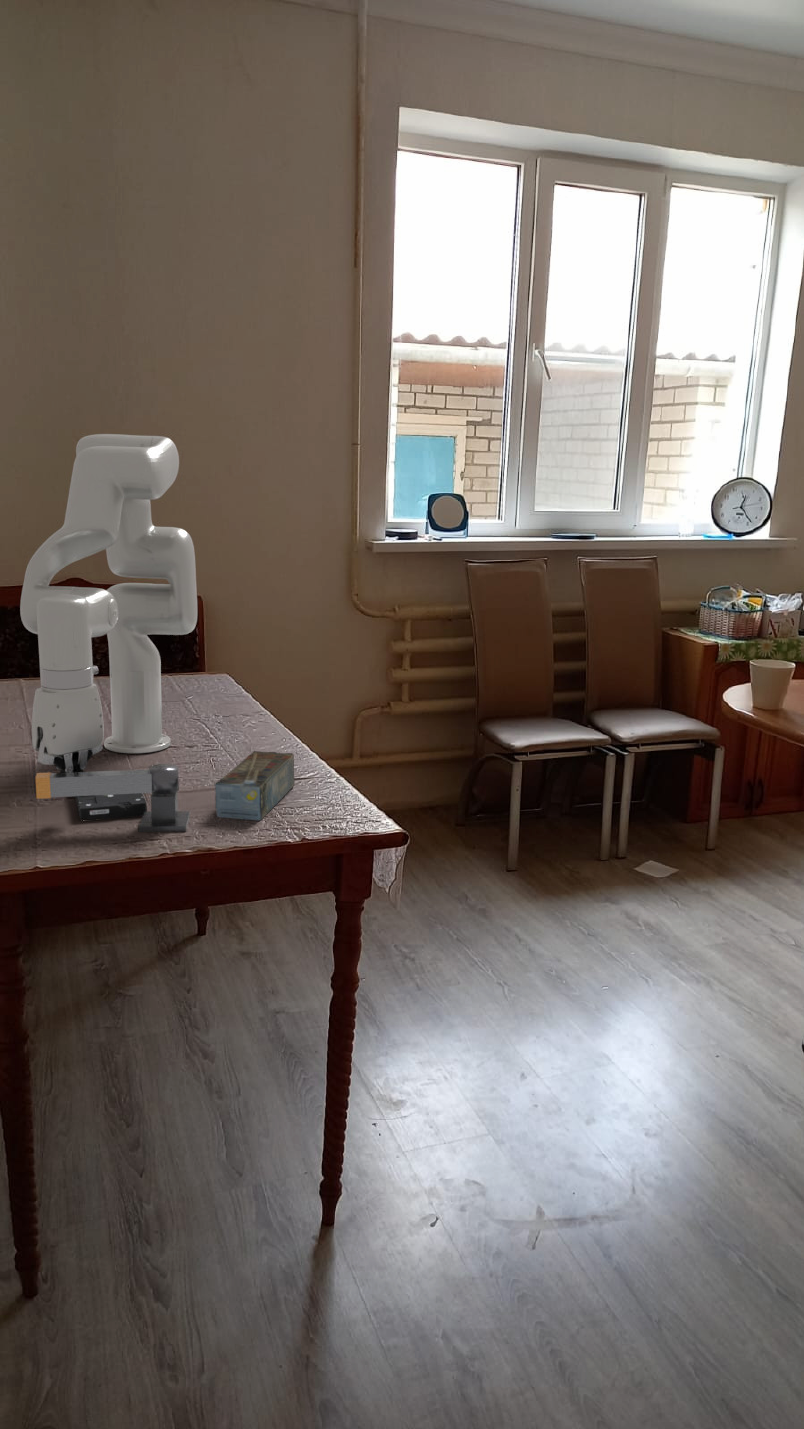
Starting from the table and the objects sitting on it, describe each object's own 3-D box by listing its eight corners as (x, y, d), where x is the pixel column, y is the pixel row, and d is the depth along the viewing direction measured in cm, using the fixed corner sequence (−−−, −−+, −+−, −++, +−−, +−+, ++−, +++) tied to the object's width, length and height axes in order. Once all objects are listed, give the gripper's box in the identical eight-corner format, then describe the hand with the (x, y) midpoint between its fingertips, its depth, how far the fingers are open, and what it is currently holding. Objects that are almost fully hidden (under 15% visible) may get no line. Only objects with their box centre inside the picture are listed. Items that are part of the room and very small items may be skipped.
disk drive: (148, 819, 166) (135, 790, 180) (148, 802, 166) (135, 774, 179) (80, 825, 163) (72, 795, 176) (79, 808, 162) (71, 779, 175)
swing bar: (178, 785, 164) (177, 763, 163) (179, 794, 160) (178, 771, 159) (38, 791, 159) (37, 768, 158) (36, 800, 155) (34, 777, 154)
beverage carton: (212, 818, 166) (212, 778, 165) (252, 783, 185) (252, 747, 183) (260, 822, 165) (260, 782, 163) (296, 787, 183) (296, 750, 182)
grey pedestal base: (144, 816, 166) (143, 786, 164) (189, 815, 166) (189, 785, 165) (138, 831, 159) (138, 800, 158) (186, 831, 160) (185, 800, 158)
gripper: (93, 666, 165) (98, 778, 170) (7, 681, 154) (15, 800, 158) (123, 674, 161) (127, 788, 165) (37, 690, 149) (44, 812, 154)
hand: (72, 793), depth 162 cm, fingers closed
